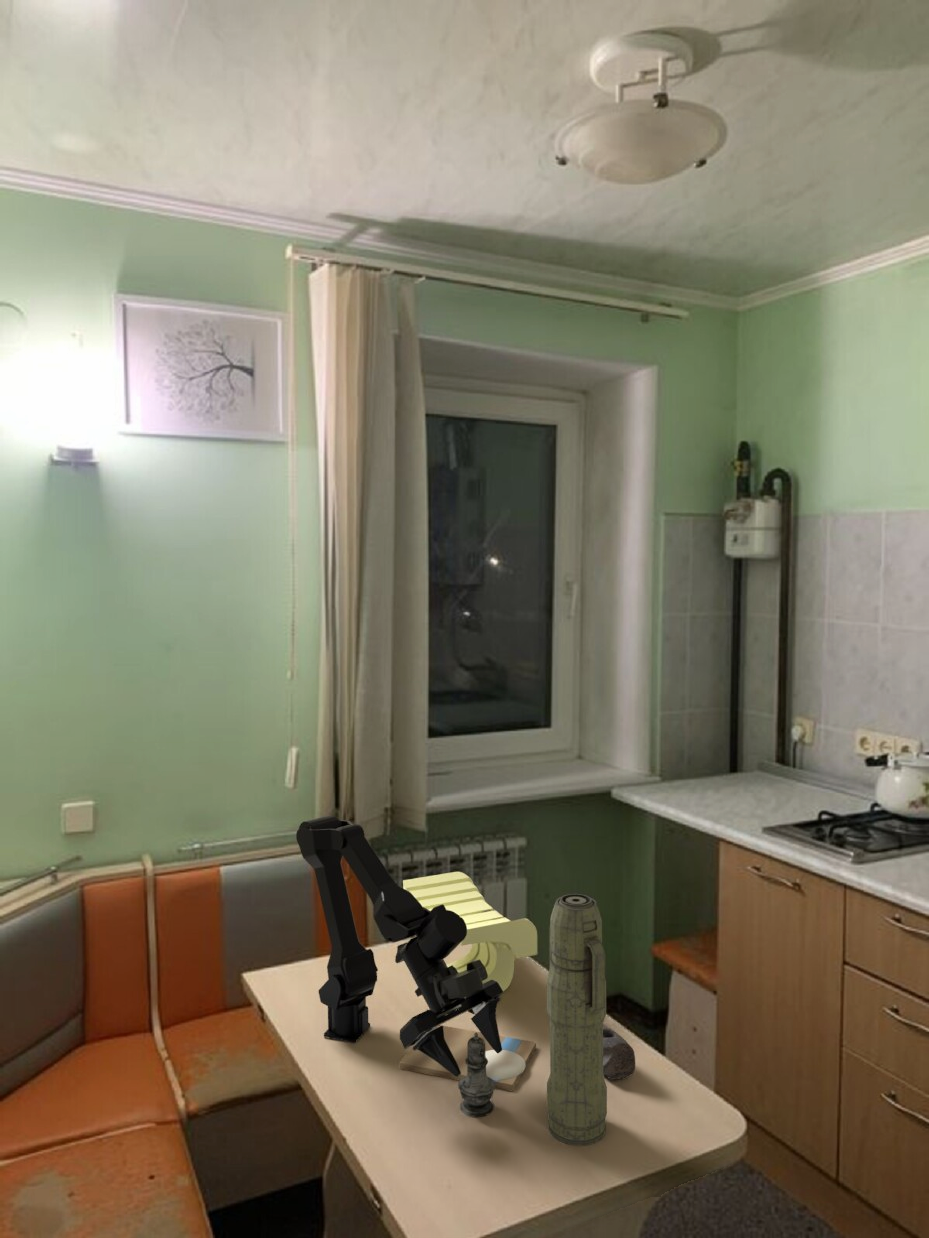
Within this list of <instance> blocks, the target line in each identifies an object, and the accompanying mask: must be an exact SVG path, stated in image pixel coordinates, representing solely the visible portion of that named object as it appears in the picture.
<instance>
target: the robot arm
mask: <svg viewBox="0 0 929 1238" xmlns="http://www.w3.org/2000/svg"><path fill="white" fill-rule="evenodd" d="M365 836H366V834H365V831H364V829H363V827H362V826H361V825H360V824H357V823H352V822H351V821H350V820H345V819H338V818H337V817H336V816H334V815H332V814H329V815H324V816H320V817H318V818H314V819H309V820H304V821H302V822H301V823H300V824H299V826H298V829H297V831H296V835H295V837H296V842H297V844H298V847H299V850H300V853H301V857H302V858H303V859H304V860H305V861H306V862H307V864H308V865H310V867H311V868H313V870H314V873H315V878H316V882H317V887H318V892H319V896H320V901H321V905H322V909H323V914H324V919H325V923H326V927H327V931H328V932H327V933H328V936H329V941H330V942H329V943H330V946H331V952H330V954H329V958H328V962H327V966H326V969H327V970H326V971H327V978H328V979H327V981H326V982H324V984H323V985H322V986H321V987H320V988H319V989H318V995H319V996H318V997H319V1001H320V1003H321V1004H323V1005H325V1006H327V1029H326V1031H325V1032H324V1033H323V1037H324V1038H328V1037H330V1038H329V1039H332V1040H333V1039H334V1040H338V1041H339V1040H340V1041H344V1042H351V1043H356V1042H358V1040H360V1038H361V1037H362V1036H363V1035H364V1034H365V1033H366V1032H367V1030H368V1029H369V1028H371V1023H370V1022H369V1007H368V1006H367V1000H366V999H367V998H366V997H369V996H373V995H374V994H373V993H374V989H375V985H376V983H377V982H378V971H379V969H378V967H377V964H376V961H375V955H374V952H373V950H372V948H368V949H367V948H366V947H365V946H364V945H363V943H361V942H360V940H359V936H358V932H357V929H356V928H357V927H356V924H355V920H354V915H353V910H352V905H351V901H350V897H349V892H348V888H347V884H346V883H347V882H346V878H345V875H344V870H343V866H342V859H343V858H344V860H345V861H346V863H347V864H348V866H349V868H350V869H351V870H352V873H353V874H354V875H355V877H356V878H357V880H358V882H359V883H360V885H361V887H362V888H363V889H364V892H366V894H367V896H368V898H369V899H370V901H371V903H372V905H373V914H372V915H373V920H374V921H375V924H376V926H377V928H378V930H379V931H380V934H381V935H382V937H383V938H384V939H385V941H387V942H388V943H389V942H391V943H397V942H400V941H404V940H406V939H408V938H410V939H409V940H408V941H407V942H404V943H401V944H399V945H397V946H396V948H397V950H396V951H397V952H396V954H395V957H394V958H395V963H396V964H400V963H402V962H404V963H405V966H406V967H407V969H408V971H409V973H410V975H411V976H412V978H413V981H414V982H415V984H416V986H417V988H416V989H415V990H414V994H416V995H415V996H416V997H417V998H420V996H422V998H423V999H424V1001H425V1003H426V1005H427V1007H428V1009H427V1010H424V1011H423V1012H421V1013H418V1014H417V1015H414V1016H412V1017H411V1018H410V1019H409V1020H408V1021H407V1022H406V1023H405V1024H404V1025H403V1026H402V1027H401V1028H400V1029H399V1041H400V1042H401V1045H402V1046H403V1048H404V1049H405V1050H406V1049H408V1048H410V1047H411V1048H412V1046H413V1045H414V1044H416V1045H415V1046H414V1047H413V1048H412V1049H413V1050H414V1051H415V1050H419V1051H421V1052H422V1053H424V1054H426V1055H427V1056H429V1057H430V1058H432V1059H433V1060H435V1061H436V1062H438V1063H439V1064H440V1065H441V1066H443V1067H444V1068H445V1069H447V1070H448V1071H449V1072H450V1073H452V1074H453V1075H454V1076H456V1077H457V1076H459V1075H460V1074H461V1072H460V1069H459V1067H458V1064H457V1062H456V1060H455V1058H454V1056H453V1054H452V1053H451V1051H450V1049H449V1047H448V1045H447V1043H446V1041H445V1039H444V1030H443V1026H444V1025H442V1024H445V1023H447V1022H449V1021H450V1020H453V1019H454V1018H457V1017H459V1016H460V1015H462V1014H465V1013H466V1012H468V1013H470V1014H471V1015H472V1014H473V1016H472V1017H471V1018H470V1020H471V1022H473V1024H474V1025H475V1027H476V1028H477V1029H478V1030H479V1031H478V1032H481V1033H482V1035H483V1036H484V1038H485V1039H486V1040H487V1042H488V1043H489V1044H490V1046H491V1047H492V1048H493V1049H494V1050H495V1051H496V1053H500V1052H501V1051H502V1046H501V1042H500V1037H499V1036H500V1034H499V1033H500V1032H499V1028H498V1022H497V1013H496V1012H497V1007H498V1004H499V1003H500V1002H501V996H502V995H503V994H504V991H503V990H502V988H501V987H500V985H499V983H498V982H496V981H494V980H490V981H488V982H486V983H483V982H482V981H483V980H485V979H487V977H488V974H487V971H486V968H485V967H484V965H483V964H482V962H481V961H480V959H479V960H475V961H473V962H470V963H468V964H467V970H465V971H463V972H459V973H458V972H457V970H456V968H455V967H453V965H452V966H450V967H447V965H446V964H447V963H446V962H445V960H444V959H446V958H447V957H448V956H449V955H450V954H451V953H453V951H454V950H455V949H456V948H457V947H458V946H459V945H460V943H461V942H462V941H463V940H464V939H465V937H466V935H467V927H466V924H465V921H464V920H463V918H461V917H460V916H459V915H458V914H456V913H455V912H453V911H450V910H446V908H445V906H444V905H443V904H442V905H439V906H436V907H434V908H433V909H432V910H431V911H429V910H428V909H426V908H424V907H422V905H421V904H420V903H419V902H418V900H417V899H416V898H415V897H414V896H413V895H412V894H411V893H410V892H409V891H407V890H405V889H403V887H401V886H399V885H398V883H396V882H395V880H394V879H393V877H392V875H391V874H390V873H389V871H388V869H387V868H386V867H385V865H384V863H383V862H382V861H381V858H379V856H378V855H377V853H376V851H375V850H374V849H373V847H372V846H371V844H370V842H369V840H368V839H367V838H366V837H365ZM413 936H415V937H413ZM411 937H412V938H411ZM465 997H466V998H465ZM439 1025H442V1026H440V1027H438V1028H437V1026H439Z"/></svg>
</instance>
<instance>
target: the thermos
mask: <svg viewBox="0 0 929 1238" xmlns="http://www.w3.org/2000/svg"><path fill="white" fill-rule="evenodd" d="M600 913H601V912H600V909H599V907H598V904H597V901H596V900H595V899H594V898H592V897H590V896H588V895H586V894H579V893H569V894H564V895H562V896H559V897H558V898H557V899H556V900H555V903H554V905H553V908H552V911H551V913H550V914H551V915H550V920H549V921H550V924H549V925H548V973H547V976H546V1013H547V1017H548V1018H549V1033H550V1034H549V1042H550V1043H549V1044H550V1045H549V1053H550V1054H549V1055H550V1056H549V1057H550V1058H549V1059H550V1060H549V1062H550V1065H549V1066H550V1068H549V1069H550V1074H549V1077H548V1079H547V1081H546V1110H547V1111H546V1112H547V1115H548V1120H547V1126H548V1131H549V1133H550V1134H551V1135H552V1137H554V1138H555V1139H556V1140H558V1141H559V1142H562V1143H564V1144H565V1145H566V1144H567V1145H572V1146H588V1145H592V1143H593V1144H595V1143H597V1142H598V1141H600V1139H601V1140H602V1139H603V1138H604V1136H605V1135H606V1131H607V1124H606V1118H607V1113H608V1096H607V1095H608V1086H607V1083H606V1081H605V1078H604V1074H603V1025H604V1021H605V1019H606V1016H607V980H606V951H605V949H604V948H605V947H604V945H603V920H602V916H601V914H600Z"/></svg>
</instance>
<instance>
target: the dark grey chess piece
mask: <svg viewBox="0 0 929 1238" xmlns="http://www.w3.org/2000/svg"><path fill="white" fill-rule="evenodd" d="M474 1036H475V1037H472V1038H470V1039H469V1041H468V1044H467V1053H468V1057H467V1058H466V1060H465V1063H466V1065H467V1076H466V1077H464V1078H462V1079H461V1080H458V1084H457V1086H458V1087H457V1088H458V1090H459V1092H460V1095H461V1097H462V1102H461V1103H460V1105H459V1109H460V1111H461V1113H463V1114H464V1115H465V1116H468V1117H472V1118H483V1117H486V1116H488V1115H490V1114H491V1113H492V1112H493V1111H494V1108H495V1105H494V1103H493V1102H492V1100H491V1099H492V1097H493V1095H494V1092H495V1091H494V1090H495V1089H496V1087H495V1086H496V1085H495V1082H494V1081H493V1079H491V1078H490V1077H488V1076H487V1075H486V1065H487V1064H488V1060H487V1058H486V1056H485V1041H484V1040H483V1039H482V1038H480V1037H478V1034H477V1033H475V1034H474Z"/></svg>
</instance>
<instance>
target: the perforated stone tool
mask: <svg viewBox="0 0 929 1238" xmlns="http://www.w3.org/2000/svg"><path fill="white" fill-rule="evenodd" d="M634 1050H635V1049H633V1047H632V1046H631V1045H630V1044H629V1042H628V1041H626V1040H625V1039H624V1038H623V1037H622V1036H621V1035H620V1034H619V1033H618V1032H617V1031H615V1030H613V1029H612V1028H610V1027H608V1026H607V1025H605V1024H603V1075H605V1076H606V1077H607V1078H608V1079H610V1080H614V1081H615V1080H617V1079H618V1080H619V1079H628V1078H629V1077H630V1076H632V1075H633V1074H634V1073H635V1070H636V1055H635V1051H634Z"/></svg>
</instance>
